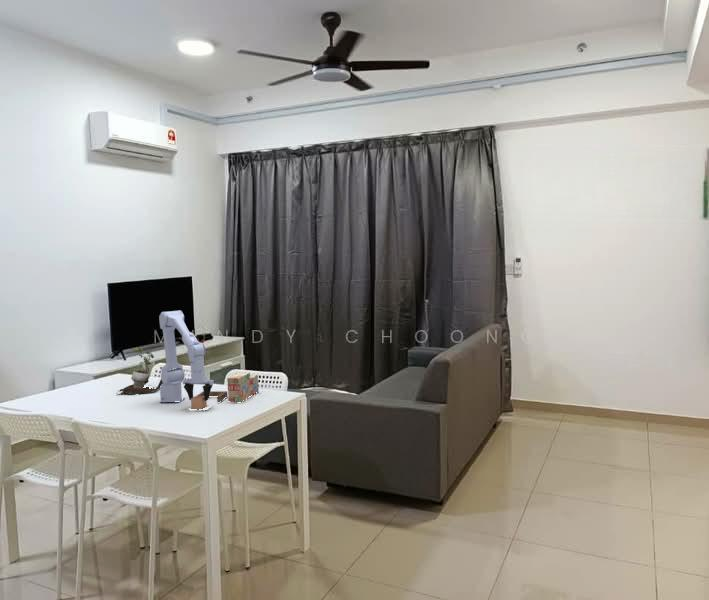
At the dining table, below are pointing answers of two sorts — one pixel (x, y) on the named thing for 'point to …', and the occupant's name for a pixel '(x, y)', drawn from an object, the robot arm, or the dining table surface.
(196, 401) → the cube
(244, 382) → the stack of blocks
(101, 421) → the dining table surface
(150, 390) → the potted plant
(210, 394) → the cubby
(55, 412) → the dining table surface
